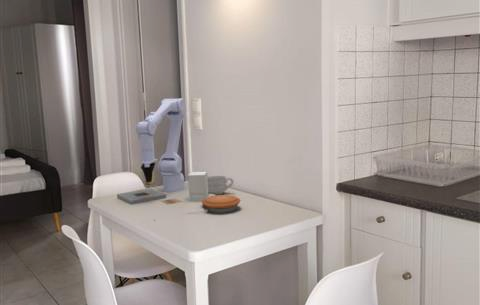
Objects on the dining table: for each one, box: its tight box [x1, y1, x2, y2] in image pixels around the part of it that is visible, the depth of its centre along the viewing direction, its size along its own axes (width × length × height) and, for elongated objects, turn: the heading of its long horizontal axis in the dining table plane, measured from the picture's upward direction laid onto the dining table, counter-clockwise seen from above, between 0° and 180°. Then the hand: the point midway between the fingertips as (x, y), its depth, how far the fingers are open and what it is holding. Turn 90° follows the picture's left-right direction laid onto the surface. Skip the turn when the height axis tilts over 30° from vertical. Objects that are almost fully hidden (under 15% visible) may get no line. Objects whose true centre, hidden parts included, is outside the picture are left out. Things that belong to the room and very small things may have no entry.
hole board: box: [116, 188, 167, 205], centre depth 212 cm, size 16×16×3 cm
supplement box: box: [187, 171, 210, 202], centre depth 206 cm, size 7×7×13 cm
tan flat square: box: [160, 198, 184, 205], centre depth 204 cm, size 7×7×2 cm
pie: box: [201, 194, 241, 214], centre depth 194 cm, size 15×16×5 cm
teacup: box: [207, 175, 234, 196], centre depth 220 cm, size 14×11×8 cm
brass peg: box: [144, 169, 155, 186], centre depth 208 cm, size 4×4×6 cm
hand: (149, 180), depth 208 cm, fingers closed on brass peg, 4 cm apart
